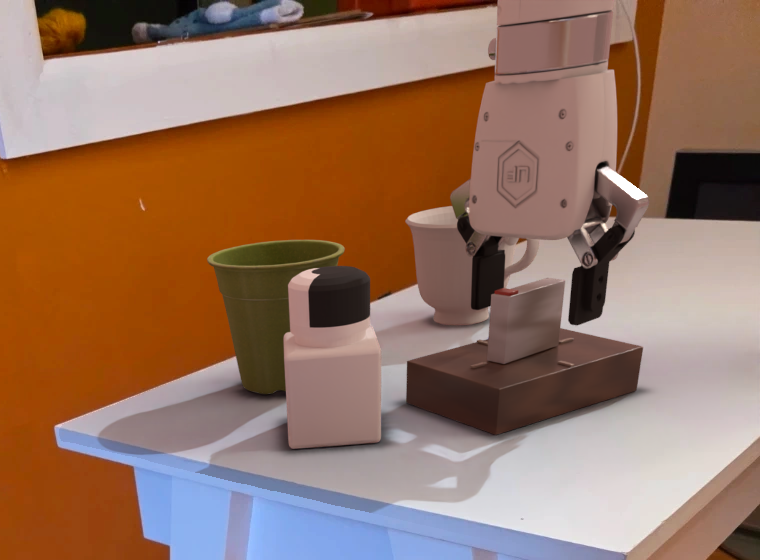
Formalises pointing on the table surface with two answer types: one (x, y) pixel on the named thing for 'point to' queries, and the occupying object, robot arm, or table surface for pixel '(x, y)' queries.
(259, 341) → the plant pot
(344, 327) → the medicine bottle
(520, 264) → the teacup
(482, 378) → the tap base
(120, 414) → the table surface
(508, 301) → the tap handle
